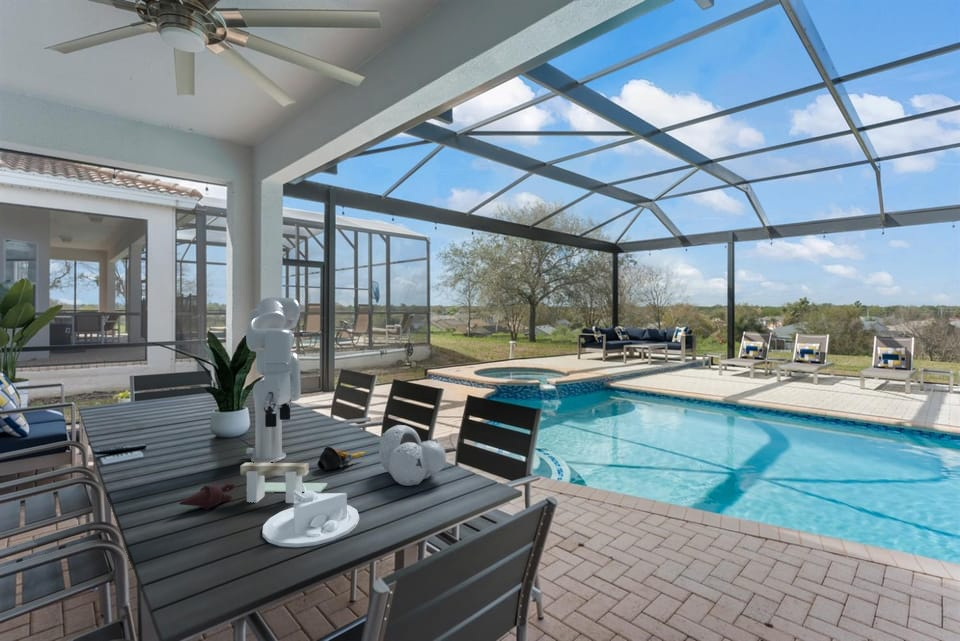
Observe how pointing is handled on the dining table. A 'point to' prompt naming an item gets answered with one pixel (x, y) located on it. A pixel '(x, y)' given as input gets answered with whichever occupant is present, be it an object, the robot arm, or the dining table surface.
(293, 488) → the post
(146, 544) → the dining table surface
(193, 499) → the icecream
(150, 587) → the dining table surface
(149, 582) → the dining table surface
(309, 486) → the mat
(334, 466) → the fried shrimp in bowl
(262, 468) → the rail
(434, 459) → the grey lumpy clump
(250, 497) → the post
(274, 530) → the dish
